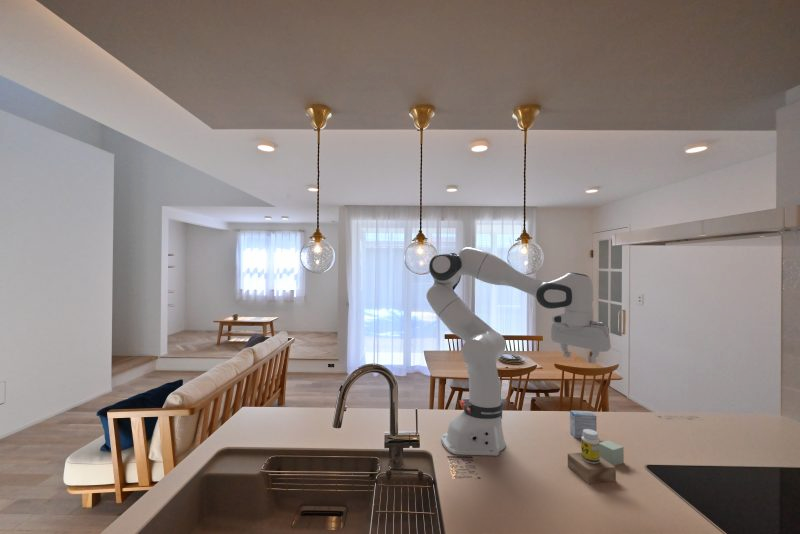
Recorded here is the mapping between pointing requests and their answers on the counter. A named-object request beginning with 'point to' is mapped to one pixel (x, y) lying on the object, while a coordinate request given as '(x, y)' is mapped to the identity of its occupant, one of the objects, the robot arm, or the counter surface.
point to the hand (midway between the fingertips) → (579, 359)
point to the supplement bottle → (590, 446)
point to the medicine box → (582, 422)
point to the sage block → (611, 452)
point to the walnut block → (592, 469)
